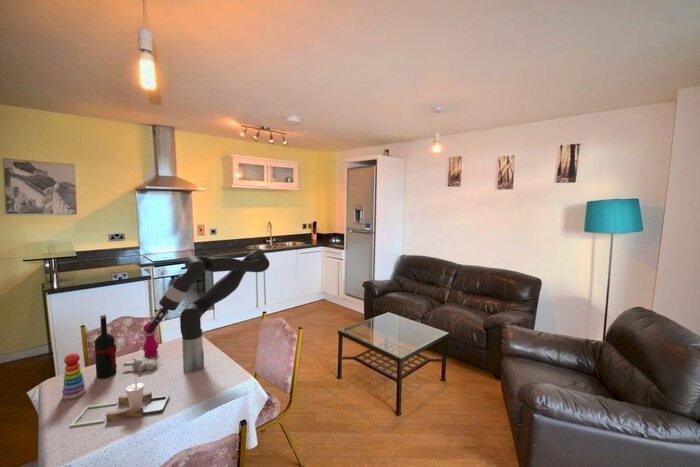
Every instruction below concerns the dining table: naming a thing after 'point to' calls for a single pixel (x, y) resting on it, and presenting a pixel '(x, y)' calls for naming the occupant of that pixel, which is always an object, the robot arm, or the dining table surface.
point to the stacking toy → (73, 377)
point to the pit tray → (156, 405)
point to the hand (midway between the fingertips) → (150, 329)
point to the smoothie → (135, 394)
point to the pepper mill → (150, 342)
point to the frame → (90, 421)
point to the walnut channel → (130, 412)
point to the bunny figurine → (142, 364)
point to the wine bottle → (105, 352)
